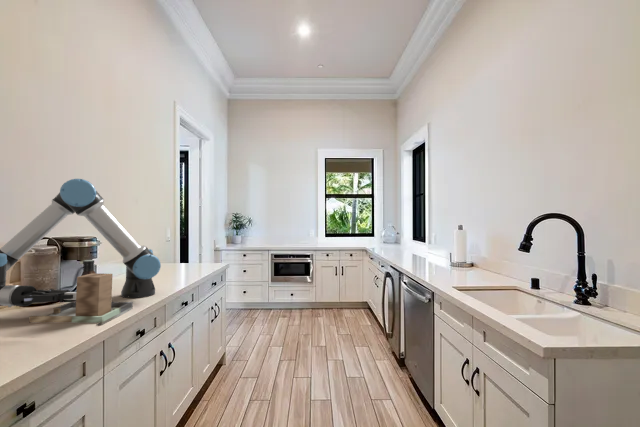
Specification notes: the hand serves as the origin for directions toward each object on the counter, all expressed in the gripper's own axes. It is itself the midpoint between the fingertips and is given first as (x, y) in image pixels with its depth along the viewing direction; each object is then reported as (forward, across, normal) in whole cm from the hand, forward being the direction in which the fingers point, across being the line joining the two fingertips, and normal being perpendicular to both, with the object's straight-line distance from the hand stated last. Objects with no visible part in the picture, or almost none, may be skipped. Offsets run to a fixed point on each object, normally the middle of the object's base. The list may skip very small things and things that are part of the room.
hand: (83, 296), depth 120 cm
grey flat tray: (-2, -4, -9) cm, 10 cm away
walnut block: (+4, 0, -8) cm, 9 cm away
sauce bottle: (-12, -21, -9) cm, 26 cm away
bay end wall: (+10, 0, -9) cm, 14 cm away
